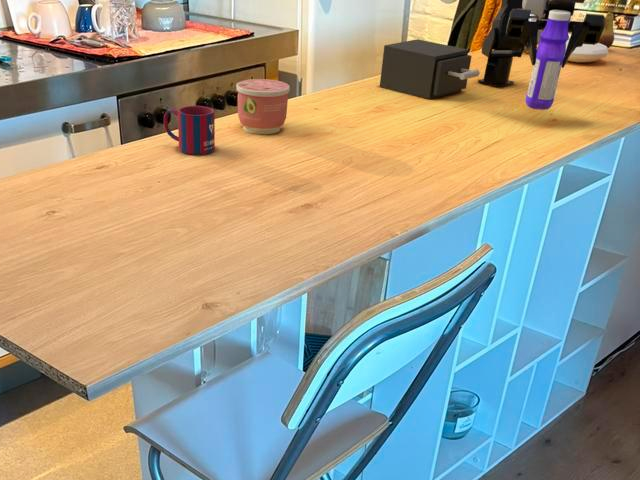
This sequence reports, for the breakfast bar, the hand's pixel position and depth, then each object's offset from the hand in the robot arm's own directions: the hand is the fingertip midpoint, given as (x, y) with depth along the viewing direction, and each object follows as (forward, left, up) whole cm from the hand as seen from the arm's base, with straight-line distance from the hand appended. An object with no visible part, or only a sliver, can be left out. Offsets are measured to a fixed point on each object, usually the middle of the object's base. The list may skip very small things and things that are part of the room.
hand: (548, 65), depth 166 cm
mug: (+69, -32, -11) cm, 77 cm away
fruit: (-88, -31, -11) cm, 94 cm away
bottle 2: (-65, -43, -11) cm, 79 cm away
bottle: (-1, -1, -8) cm, 8 cm away
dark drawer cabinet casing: (-5, -34, -11) cm, 37 cm away
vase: (-68, -28, -11) cm, 75 cm away
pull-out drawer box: (-5, -30, -10) cm, 32 cm away
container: (+49, -33, -11) cm, 60 cm away
